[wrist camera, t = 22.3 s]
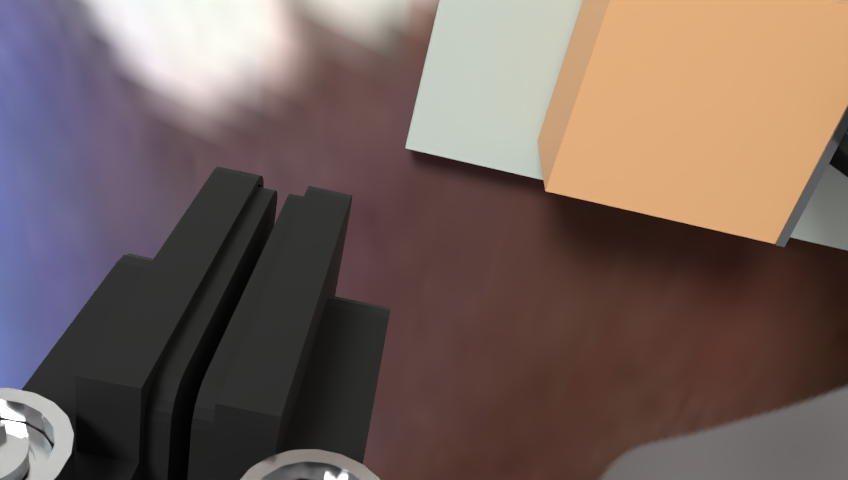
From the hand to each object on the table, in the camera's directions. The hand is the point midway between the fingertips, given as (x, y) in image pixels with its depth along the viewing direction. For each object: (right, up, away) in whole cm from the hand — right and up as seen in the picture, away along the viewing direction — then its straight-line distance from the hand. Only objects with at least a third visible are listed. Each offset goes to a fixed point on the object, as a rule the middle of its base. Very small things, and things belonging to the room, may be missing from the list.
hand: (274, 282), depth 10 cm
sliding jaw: (+14, +8, +26) cm, 31 cm away
